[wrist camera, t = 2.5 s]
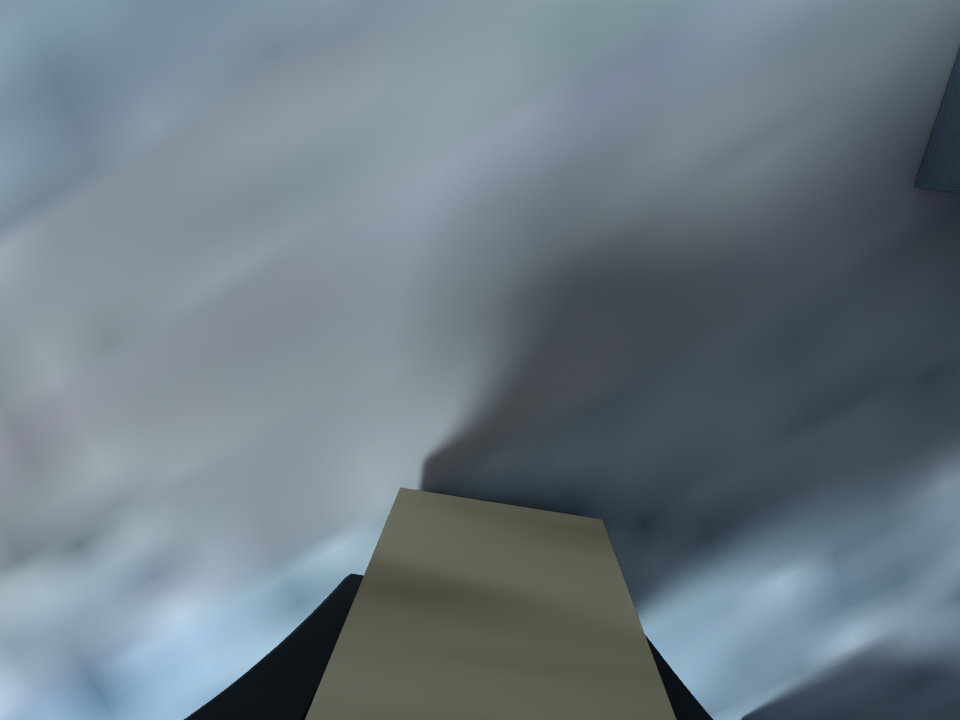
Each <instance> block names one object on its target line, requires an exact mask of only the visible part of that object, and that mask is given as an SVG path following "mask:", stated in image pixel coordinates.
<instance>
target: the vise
mask: <svg viewBox="0 0 960 720" xmlns="http://www.w3.org/2000/svg"><path fill="white" fill-rule="evenodd" d="M915 187H918V188H925V189H931V190H937V191H944V192H950V193H957V194H960V49H959V52H958V56H957V59H956V62H955V65H954V68H953V71H952V74H951V77H950V80H949V83H948V86H947V89H946V93H945V96H944V99H943V102H942V105H941V108H940V111H939V114H938V117H937V120H936V123H935V126H934V129H933V133H932V136H931V139H930V142H929V145H928V148H927V151H926V154H925V157H924V160H923V163H922V166H921V169H920V173H919V176H918V179H917V182H916V185H915Z"/></svg>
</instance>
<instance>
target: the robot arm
mask: <svg viewBox="0 0 960 720" xmlns="http://www.w3.org/2000/svg"><path fill="white" fill-rule="evenodd" d="M363 577H364V576H363V575H357V574H350V575H349V576H347V577H346V578H345V579H344V580H343V581H342V582H341V583H340V584H339V585H338V586H337V587H336V589H335V590H334V591H333V592H332V593H331V594H330V595H329V596H328V597H327V598H326V599H325V600H324V601H323V602H322V603H321V604H320V605H319V607H318V608H317V609H316V610H315V611H314V612H313V613H312V614H311V615H310V616H309V617H308V618H307V619H305V620H304V621H303V622H302V623H301V624H300V625H299V626H298V627H297V628H296V629H295V630H294V631H293V632H292V633H291V634H290V635H289V636H288V637H287V638H285V639H284V640H283V641H282V642H281V643H280V644H279V645H278V646H277V647H276V648H274V649H273V650H272V651H271V652H270V653H269V654H267V655H266V656H265V657H264V658H263V659H262V660H260V661H259V662H258V663H257V664H256V665H255V666H253V667H252V668H251V669H250V670H249V671H248V672H246V673H245V674H244V675H243V676H242V677H240V678H239V679H238V680H237V681H235V682H234V683H233V684H231V685H230V686H229V687H228V688H226V689H225V690H224V691H223V692H221V693H220V694H219V695H217V696H216V697H215V698H213V699H212V700H211V701H209V702H208V703H206V704H205V705H204V706H202V707H201V708H200V709H198V710H197V711H196V712H194V713H193V714H191V715H190V716H189V717H187V718H186V719H184V720H305V719H306V716H307V714H308V711H309V709H310V706H311V704H312V702H313V699H314V697H315V694H316V692H317V689H318V687H319V684H320V682H321V680H322V677H323V675H324V672H325V670H326V667H327V665H328V662H329V660H330V658H331V655H332V653H333V650H334V648H335V645H336V643H337V641H338V638H339V636H340V633H341V631H342V628H343V626H344V623H345V621H346V619H347V616H348V614H349V611H350V609H351V606H352V604H353V602H354V599H355V597H356V594H357V592H358V589H359V587H360V584H361V582H362V580H363ZM645 636H646V635H645ZM646 639H647V642H648V645H649V647H650V650H651V653H652V655H653V658H654V661H655V663H656V666H657V669H658V672H659V674H660V677H661V680H662V682H663V685H664V688H665V690H666V693H667V696H668V699H669V701H670V704H671V707H672V709H673V712H674V715H675V717H676V720H713V719H712V718H711V717H710V715H709V714H708V713H707V712H706V711H705V709H704V708H703V707H702V706H701V705H700V703H699V702H698V701H697V700H696V699H695V697H694V696H693V695H692V694H691V693H690V691H689V690H688V689H687V688H686V686H685V685H684V684H683V683H682V681H681V680H680V679H679V678H678V676H677V675H676V674H675V673H674V671H673V670H672V669H671V667H670V666H669V665H668V664H667V662H666V661H665V660H664V659H663V657H662V656H661V655H660V653H659V652H658V651H657V650H656V648H655V647H654V646H653V644H652V643H651V642H650V640H649V639H648V638H647V637H646Z"/></svg>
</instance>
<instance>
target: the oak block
mask: <svg viewBox="0 0 960 720" xmlns="http://www.w3.org/2000/svg"><path fill="white" fill-rule="evenodd" d="M305 720H676V717H675V715H674V712H673V709H672V707H671V704H670V701H669V699H668V696H667V693H666V690H665V688H664V685H663V682H662V680H661V677H660V674H659V672H658V669H657V666H656V663H655V661H654V658H653V655H652V653H651V650H650V647H649V645H648V642H647V639H646V636H645V634H644V631H643V628H642V626H641V623H640V620H639V618H638V615H637V612H636V609H635V607H634V604H633V601H632V599H631V596H630V593H629V591H628V588H627V585H626V583H625V580H624V577H623V574H622V572H621V569H620V566H619V564H618V561H617V558H616V556H615V553H614V550H613V547H612V545H611V542H610V539H609V537H608V534H607V531H606V529H605V526H604V523H603V520H602V519H596V518H590V517H584V516H577V515H571V514H565V513H558V512H552V511H546V510H539V509H533V508H527V507H520V506H514V505H508V504H501V503H495V502H489V501H482V500H476V499H470V498H463V497H457V496H451V495H444V494H438V493H432V492H425V491H419V490H413V489H406V488H400V489H399V492H398V494H397V497H396V499H395V502H394V504H393V506H392V509H391V511H390V514H389V516H388V519H387V521H386V524H385V526H384V528H383V531H382V533H381V536H380V538H379V541H378V543H377V545H376V548H375V550H374V553H373V555H372V558H371V560H370V563H369V565H368V567H367V570H366V572H365V575H364V577H363V580H362V582H361V584H360V587H359V589H358V592H357V594H356V597H355V599H354V602H353V604H352V606H351V609H350V611H349V614H348V616H347V619H346V621H345V623H344V626H343V628H342V631H341V633H340V636H339V638H338V641H337V643H336V645H335V648H334V650H333V653H332V655H331V658H330V660H329V662H328V665H327V667H326V670H325V672H324V675H323V677H322V680H321V682H320V684H319V687H318V689H317V692H316V694H315V697H314V699H313V702H312V704H311V706H310V709H309V711H308V714H307V716H306V719H305Z"/></svg>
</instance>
